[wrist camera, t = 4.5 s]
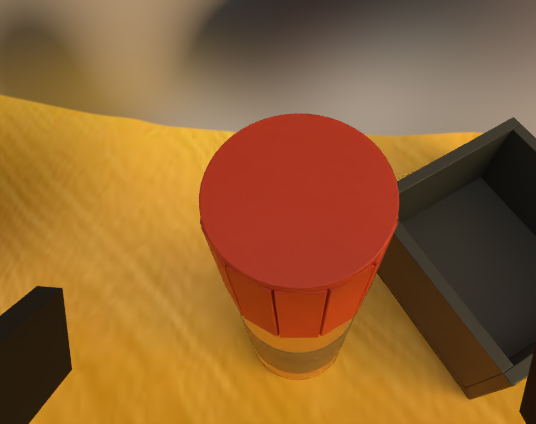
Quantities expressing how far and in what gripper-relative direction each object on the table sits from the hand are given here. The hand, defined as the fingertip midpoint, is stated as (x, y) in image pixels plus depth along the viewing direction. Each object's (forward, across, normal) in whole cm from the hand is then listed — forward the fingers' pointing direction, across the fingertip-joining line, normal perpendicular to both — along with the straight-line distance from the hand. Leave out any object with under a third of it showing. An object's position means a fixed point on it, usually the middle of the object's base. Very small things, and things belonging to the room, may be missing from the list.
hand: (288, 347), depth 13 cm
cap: (+9, 0, -2) cm, 9 cm away
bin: (+23, +13, -8) cm, 28 cm away
